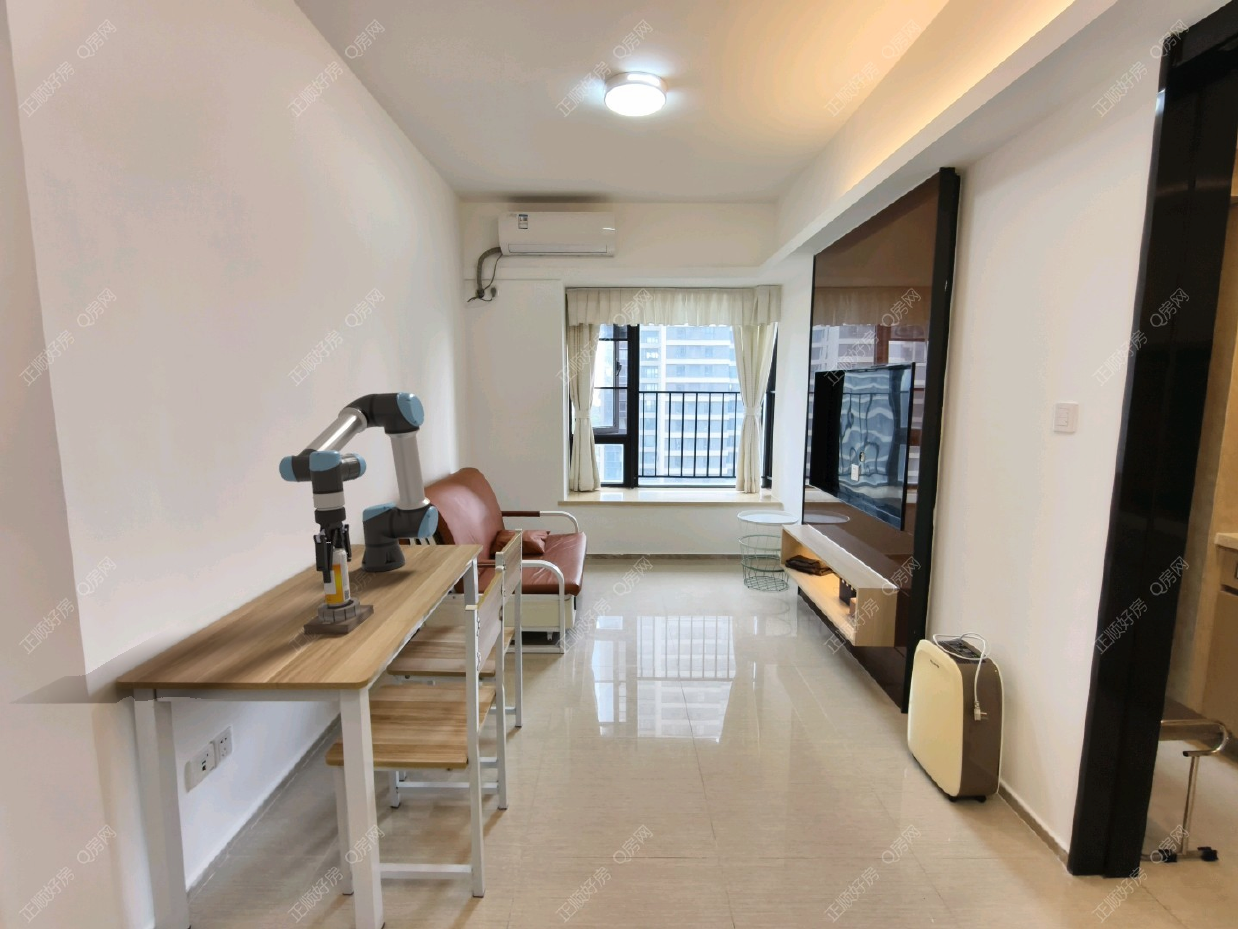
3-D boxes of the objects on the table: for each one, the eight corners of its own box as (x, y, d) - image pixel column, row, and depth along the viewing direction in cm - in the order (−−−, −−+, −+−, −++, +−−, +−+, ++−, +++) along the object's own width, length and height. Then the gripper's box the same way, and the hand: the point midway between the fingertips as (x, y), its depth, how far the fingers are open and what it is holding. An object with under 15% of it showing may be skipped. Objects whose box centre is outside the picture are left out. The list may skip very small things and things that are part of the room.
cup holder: (333, 613, 161) (332, 595, 160) (373, 613, 160) (372, 594, 160) (304, 634, 147) (302, 614, 146) (348, 633, 146) (346, 613, 146)
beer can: (333, 599, 156) (328, 547, 154) (354, 598, 156) (350, 547, 154) (321, 607, 150) (316, 553, 148) (343, 606, 150) (338, 553, 148)
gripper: (335, 501, 159) (342, 578, 162) (294, 515, 140) (303, 602, 143) (360, 500, 159) (367, 578, 162) (322, 514, 140) (331, 602, 143)
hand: (337, 589), depth 152 cm, fingers closed on beer can, 6 cm apart
